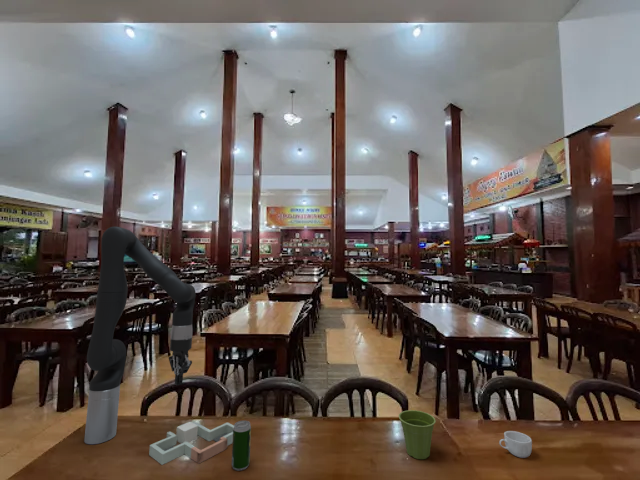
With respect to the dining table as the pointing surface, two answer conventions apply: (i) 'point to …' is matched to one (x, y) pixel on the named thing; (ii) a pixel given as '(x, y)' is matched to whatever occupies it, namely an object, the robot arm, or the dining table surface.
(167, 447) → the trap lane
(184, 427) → the cream block
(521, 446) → the teacup
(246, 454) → the beer can
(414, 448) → the plant pot
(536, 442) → the dining table surface
